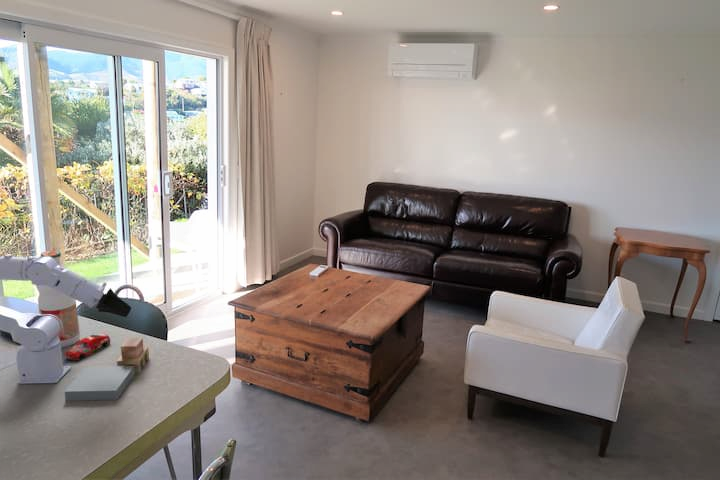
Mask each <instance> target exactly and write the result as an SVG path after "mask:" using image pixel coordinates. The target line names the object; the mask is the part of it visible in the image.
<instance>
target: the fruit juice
mask: <svg viewBox="0 0 720 480" xmlns="http://www.w3.org/2000/svg"><path fill="white" fill-rule="evenodd" d="M43 255H46V256H50V257H53V258H55V259H56V260H57V261H58V262H59V264H60V266H62V267H64V266H63V264H62V262H61V258H62V253H61V251H59V250H49V251H43V252H42V253H40V256H43ZM35 287H36V289H37V291H38V294H39V295H38V297H37V305H38V306H37V308H38V313H39V314H51V315H55V316H57V317H58V318H59V319H60V320H61V322H62V329H61V331H60V332H59V333H58V335H59V339H60V345H61V349H63V348H66V347H70V346H73V345H76V344H75V343H78V342H79V341H80V340H81V339H80V338H81V334H80V333H81V332H80V325H79V318H78V316H79V315H78V308H77V300H76V299H74V298H72V297H70V296H67V295H65V294H63V293H61V292H59V291H57V290H55V289H53V288H51V287H48V286H46V285H35Z"/></svg>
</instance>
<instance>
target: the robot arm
mask: <svg viewBox="0 0 720 480" xmlns="http://www.w3.org/2000/svg"><path fill="white" fill-rule="evenodd" d="M62 266H63V265H62ZM62 266H60V264H59V262H58V261H57V260H56V259H55V258H53V257H50V256H46V255H43V256H41V255H40V256H39V257H37V258H36V257H35V256H34V255H29V256H27V257H22V256H14V255H13V254H12V253H11V254H9V253H7V254H4V255H3V256H0V280H6V281H22V282H23V281H25V282H26V281H27V282H29V281H30V282H31V284H32V285H34V286H36V285H46V286H48V287H51V288H53V289H55V290H57V291H59V292H61V293H63V294H65V295H67V296H70V297H72V298H74V299H76V301H78V302H80V303H82V304H84V305H86V306H87V307H88V308H91V309H92V308H93V307H94V306H95V305H96V304H97V305H96V307H95V308H96V309H97V312H98V313H110V314H112V315H117V316H120V317H124V318H127V317H128V316H129V314H130V312H131V310H132V306H130V305H129V304H128V302H127V303H126V302H125V301H124V300H123V299H121V297H119V296H118V295H116V293H115V292H114V291H113V289H112V288H109V289H108V290H107V292H106V293H104V290H105V288H106V286H107V282H103V284H102V285H100V284H98V283H96V282H94V281H92V280H90V279H88V278H87V277H84V276H82V275H80V274H78V273H76V272H74V271H72V270H70V269H68V268H66V267H64V266H63V267H62ZM61 329H62V322H61V320H60V319H59V318H58V317H57V316H55V315H51V314H40V313H39V312H26V313H25V312H20V311H18V310H15V309H11V308H8V307H6V306H3V305H0V331H3V332H6V333H9V334H10V335H11V338H12V341H13V342H15V343H18V344H19V345H21V346H19V348H18V350H17V354H16V367H17V372H18V377H19V380H18V381H17V383H18V384H19V385H23V384H24V385H26V384H56V383H58V382H59V381H60V380H61V379H62V378H63V377H64V376H65V375H66V373H68V371H70V369H72V367H71V366H70V365H65V366H64V361H63V360H64V359H63V355H62V354H63V352H62V348H61V345H60V339H59V335H58V333H59V332H60V331H61Z"/></svg>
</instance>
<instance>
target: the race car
mask: <svg viewBox="0 0 720 480" xmlns="http://www.w3.org/2000/svg"><path fill="white" fill-rule="evenodd" d="M110 343H111V338H110V336H109V335H108V334H104V333H97V334H96V333H95V334H91V335H88V336H85V337H84V338H82V339H79V341H78V342H76V343H75V344H74V346H73V345H72V347H70V348H69V349H68V350H66V352H65V353H64V354H65V359H66V360H68V361H78V360H79V361H82V360H83V359H85V358H87V357H88V356H90V355H92V354H94V353H96V352H98V351H100V350H101V349H104V348H106V347H107V346H109V345H110Z"/></svg>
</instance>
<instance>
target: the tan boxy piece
mask: <svg viewBox="0 0 720 480" xmlns="http://www.w3.org/2000/svg"><path fill="white" fill-rule="evenodd" d="M143 349H144V350H143V351H142V352H141V354H140V355H139V356H138V358H122V355H120V357H119V358H118V359H117V360H116V366H134V368H135V374H136V373H137V374H138V373H140V372H141V371H142V367H144V366H145V365H146V362H148V361H149V359H150V354H149V352H150V351H149V346H143Z"/></svg>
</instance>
